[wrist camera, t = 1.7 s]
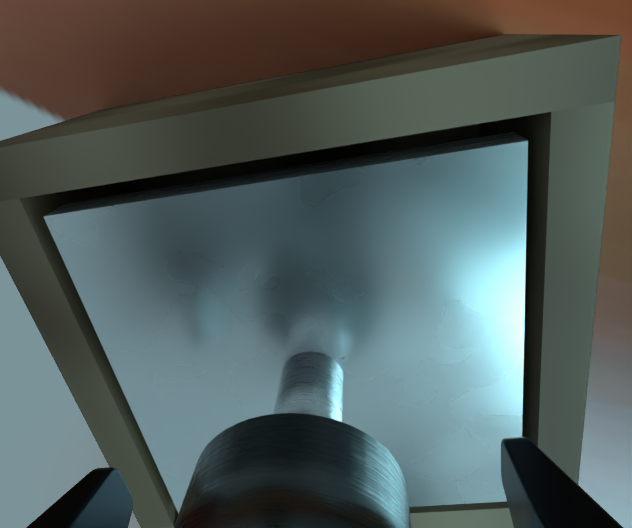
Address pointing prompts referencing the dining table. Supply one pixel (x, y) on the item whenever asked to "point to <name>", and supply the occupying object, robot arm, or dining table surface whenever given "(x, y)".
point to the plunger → (317, 331)
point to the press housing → (328, 145)
